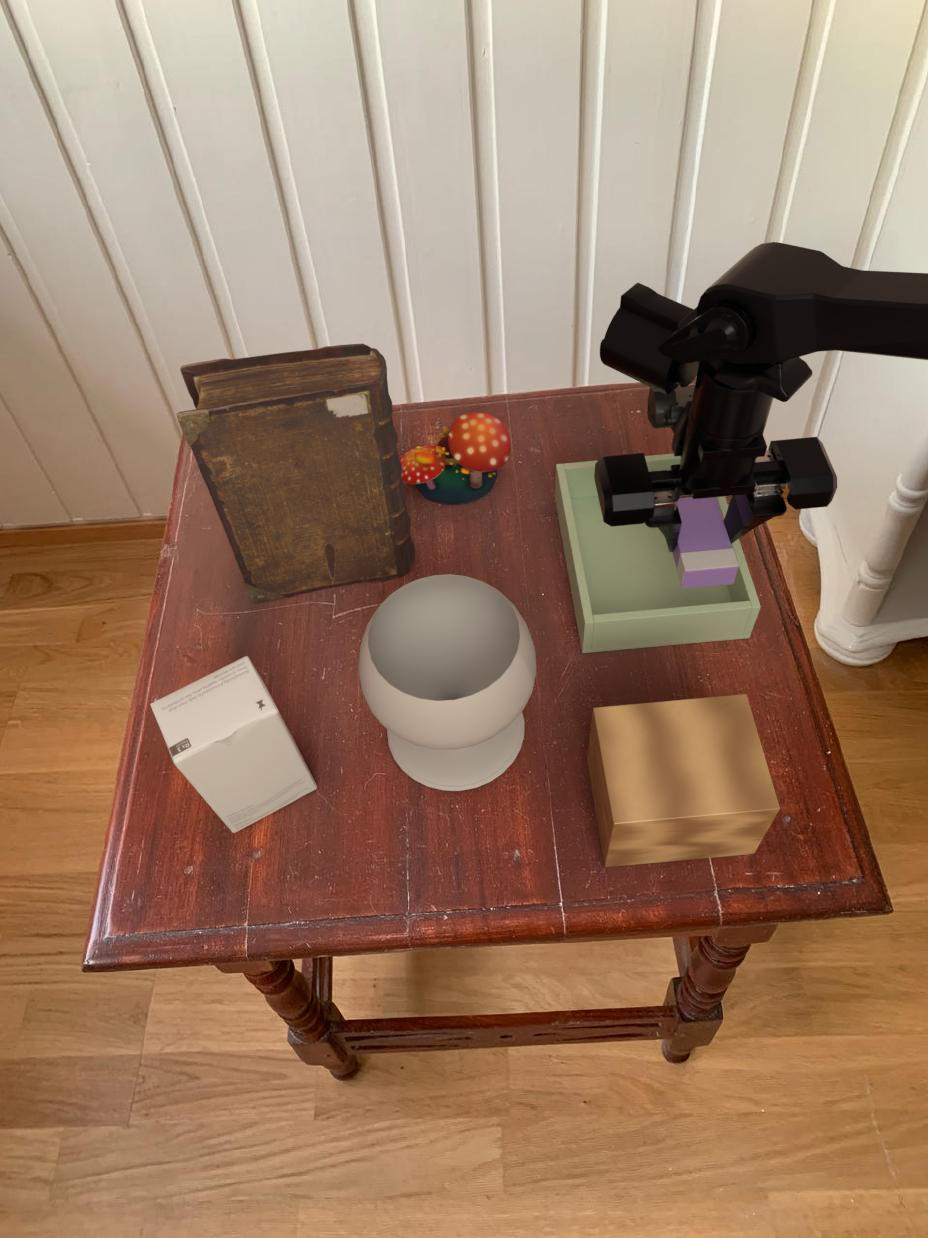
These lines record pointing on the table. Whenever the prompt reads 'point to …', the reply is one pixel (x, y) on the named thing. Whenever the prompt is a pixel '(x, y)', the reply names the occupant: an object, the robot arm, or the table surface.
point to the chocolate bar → (703, 545)
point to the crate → (679, 780)
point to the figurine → (459, 460)
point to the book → (302, 467)
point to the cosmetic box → (233, 745)
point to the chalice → (449, 679)
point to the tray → (640, 576)
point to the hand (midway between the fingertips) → (697, 545)
